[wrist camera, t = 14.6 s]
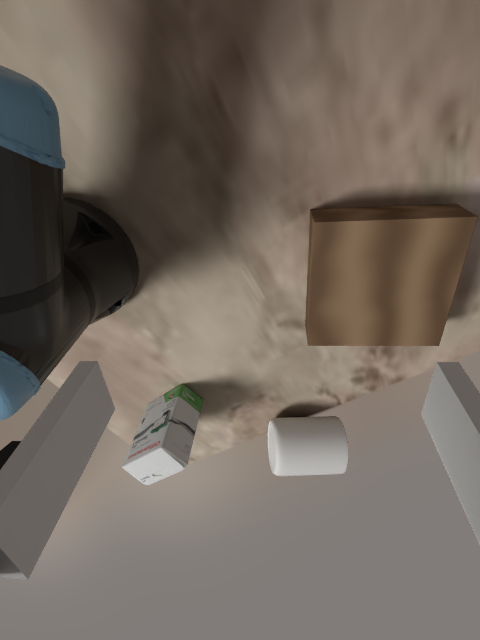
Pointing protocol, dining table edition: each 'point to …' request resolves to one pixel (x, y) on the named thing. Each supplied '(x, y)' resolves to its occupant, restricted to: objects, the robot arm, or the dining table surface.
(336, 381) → the dining table surface
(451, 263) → the walnut block
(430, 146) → the dining table surface
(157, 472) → the ink box
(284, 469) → the mug
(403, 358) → the dining table surface
